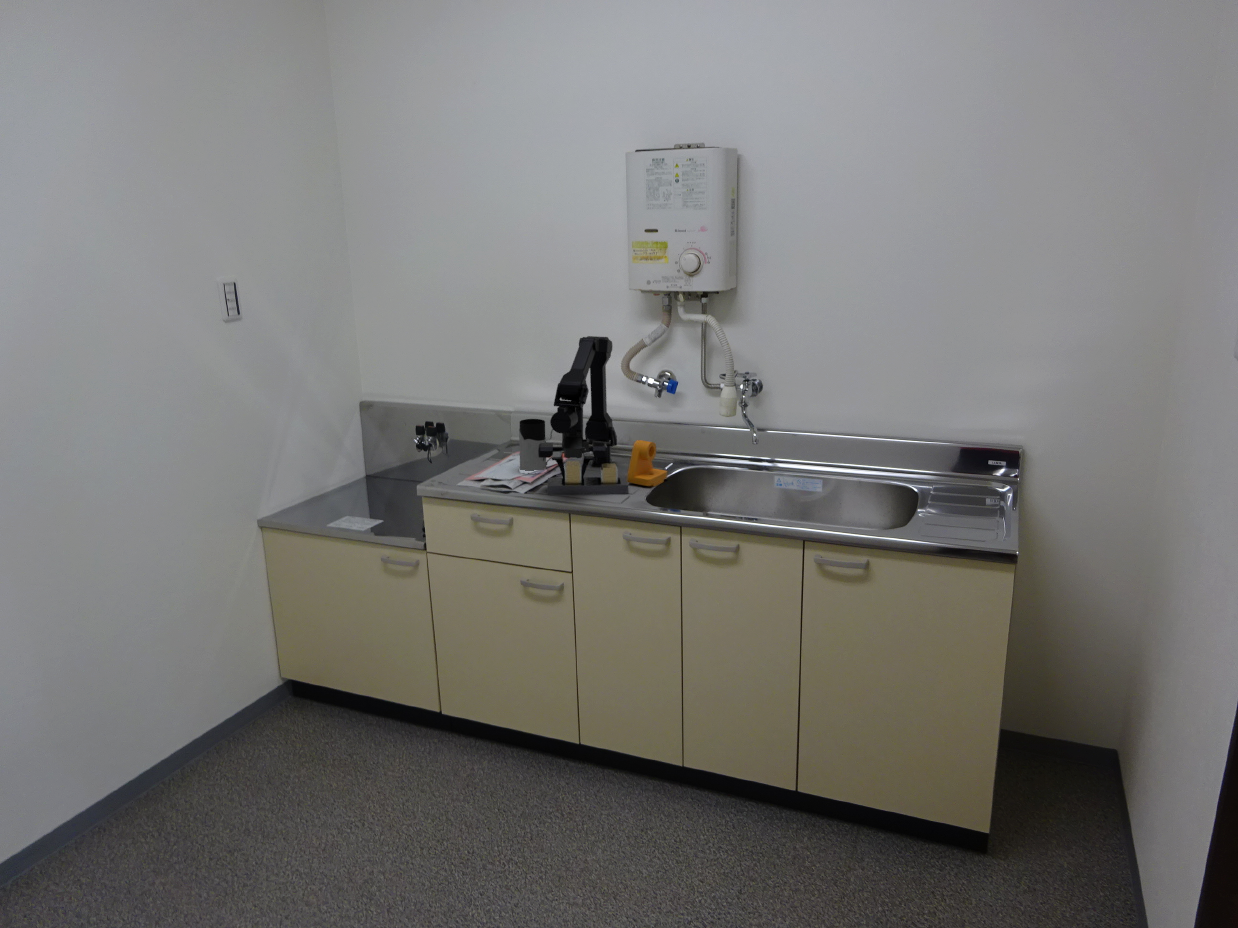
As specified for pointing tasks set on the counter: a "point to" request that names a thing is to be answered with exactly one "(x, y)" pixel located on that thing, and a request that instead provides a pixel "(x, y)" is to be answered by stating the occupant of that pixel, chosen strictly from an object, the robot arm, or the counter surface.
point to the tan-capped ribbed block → (609, 474)
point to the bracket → (644, 465)
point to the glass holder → (532, 444)
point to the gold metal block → (573, 473)
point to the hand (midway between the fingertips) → (573, 480)
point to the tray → (586, 487)
